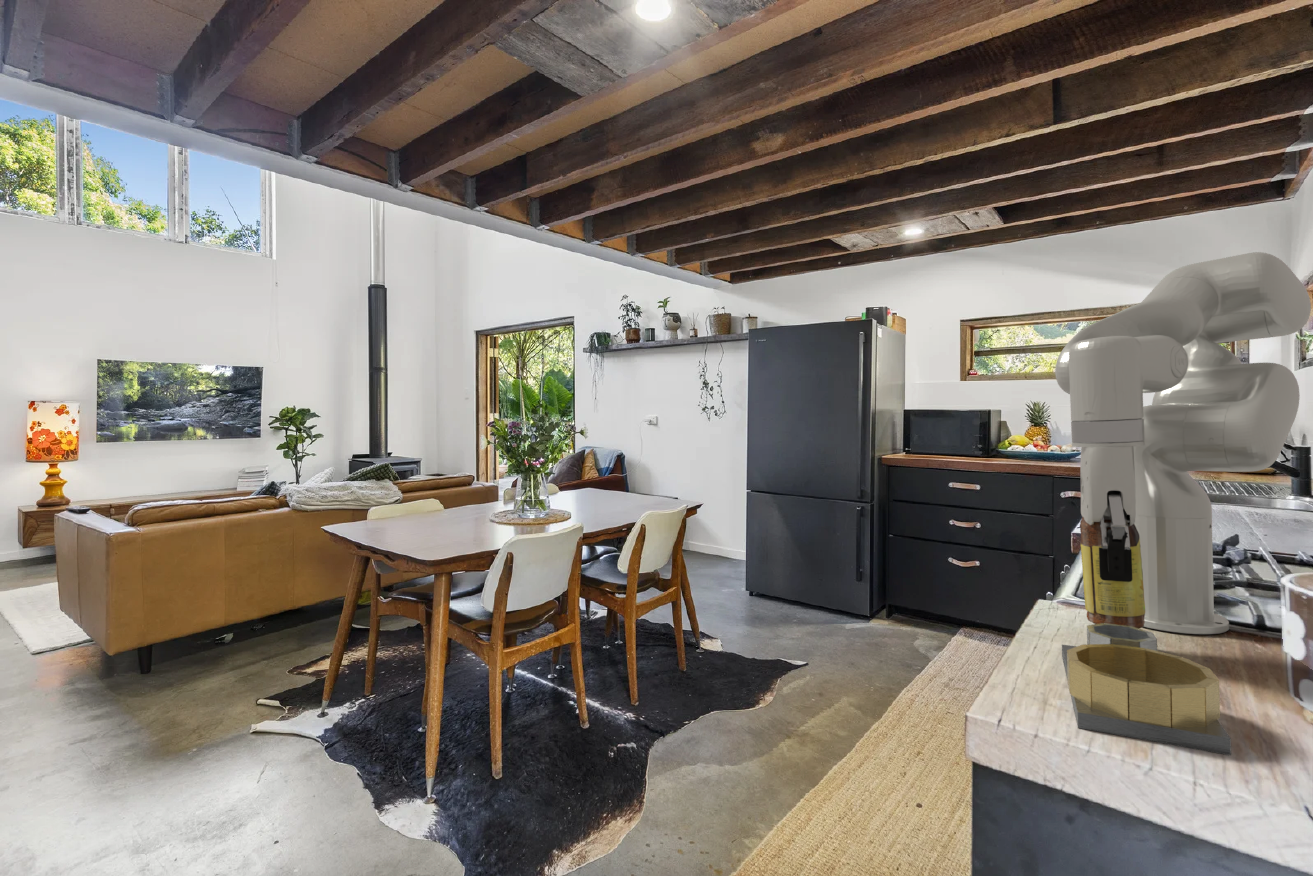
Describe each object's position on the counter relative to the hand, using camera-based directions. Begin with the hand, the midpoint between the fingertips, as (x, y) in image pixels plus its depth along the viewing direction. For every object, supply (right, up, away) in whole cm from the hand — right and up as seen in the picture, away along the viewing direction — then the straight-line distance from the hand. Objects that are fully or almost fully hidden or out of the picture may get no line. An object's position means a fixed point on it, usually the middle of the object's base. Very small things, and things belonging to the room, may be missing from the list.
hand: (1111, 572), depth 79 cm
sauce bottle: (0, -7, 0) cm, 7 cm away
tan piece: (-8, -10, -14) cm, 19 cm away
